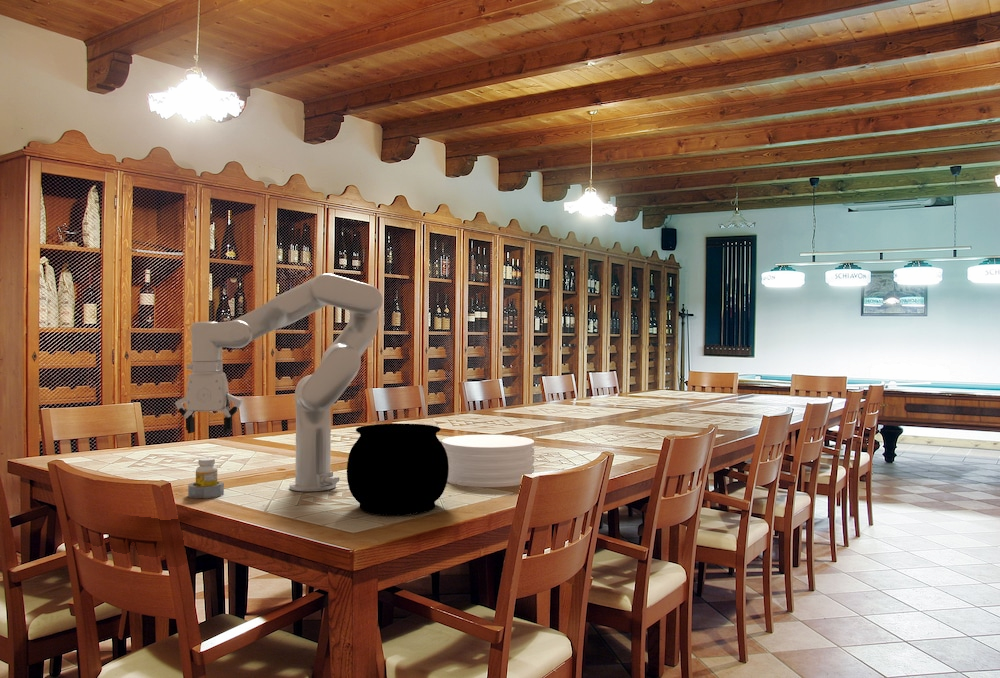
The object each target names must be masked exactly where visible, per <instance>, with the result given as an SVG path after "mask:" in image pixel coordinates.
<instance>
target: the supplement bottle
mask: <svg viewBox="0 0 1000 678" xmlns="http://www.w3.org/2000/svg"><path fill="white" fill-rule="evenodd" d="M197 463H198V465H199V466H198V467H197V468H196V470H195V482H196V486H213V485H217V481H218V467H217V466H216V465H215V463H216V459H215V458H212V457H205V458H199V459H198V462H197Z"/></svg>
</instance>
